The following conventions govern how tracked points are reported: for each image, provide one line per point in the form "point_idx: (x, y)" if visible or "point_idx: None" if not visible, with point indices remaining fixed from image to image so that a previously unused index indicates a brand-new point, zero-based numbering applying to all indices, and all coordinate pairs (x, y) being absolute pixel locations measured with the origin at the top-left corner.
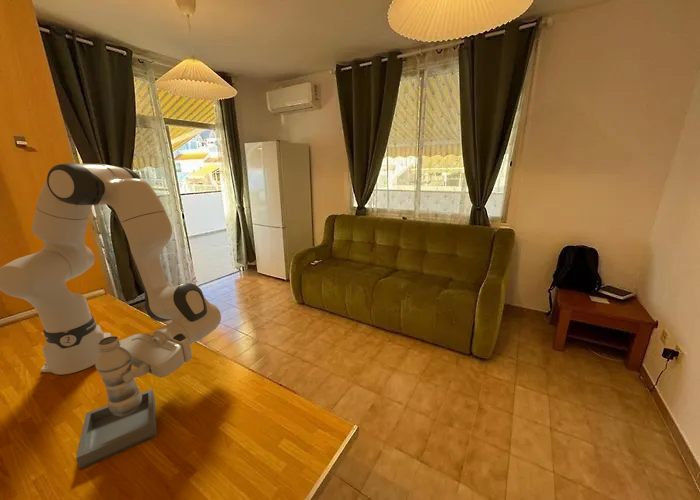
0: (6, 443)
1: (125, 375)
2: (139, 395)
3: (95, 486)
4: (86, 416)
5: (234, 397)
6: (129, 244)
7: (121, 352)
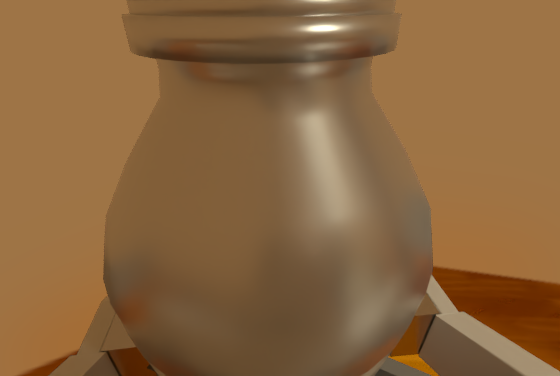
0: (472, 272)
1: (105, 302)
2: None
3: None
4: (409, 369)
5: None
6: None
7: (134, 164)
